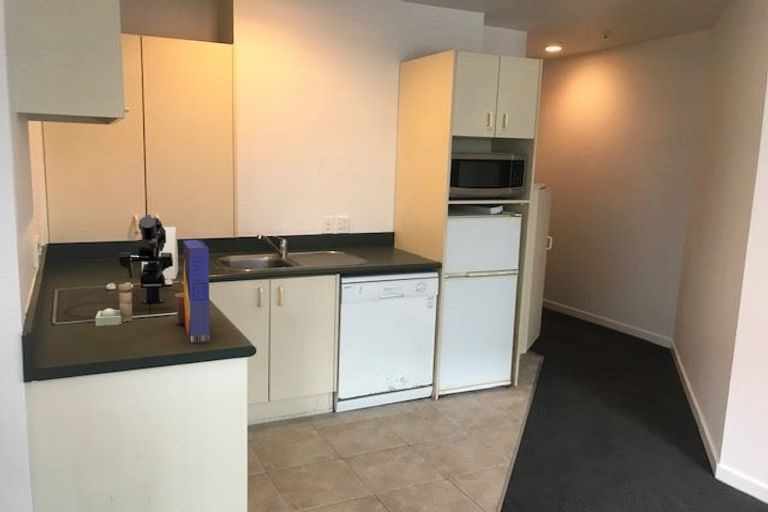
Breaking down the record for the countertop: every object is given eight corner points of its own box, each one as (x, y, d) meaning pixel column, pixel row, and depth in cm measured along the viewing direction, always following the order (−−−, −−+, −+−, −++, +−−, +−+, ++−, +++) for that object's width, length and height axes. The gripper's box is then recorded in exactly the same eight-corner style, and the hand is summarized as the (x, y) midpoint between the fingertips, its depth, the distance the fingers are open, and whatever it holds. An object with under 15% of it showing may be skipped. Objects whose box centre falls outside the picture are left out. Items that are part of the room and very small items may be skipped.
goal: (98, 318, 218) (98, 310, 217) (123, 317, 220) (122, 309, 220) (95, 326, 208) (95, 317, 207) (121, 324, 210) (120, 316, 210)
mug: (184, 327, 209) (183, 298, 207) (170, 323, 214) (169, 294, 213) (214, 321, 218) (214, 293, 216) (200, 317, 223) (199, 290, 222)
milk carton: (146, 273, 316) (145, 225, 313) (178, 272, 320) (177, 225, 317) (142, 279, 298) (140, 228, 295) (175, 279, 302) (174, 228, 299)
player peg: (119, 320, 217) (118, 284, 215) (131, 318, 219) (130, 283, 217) (120, 322, 213) (119, 286, 211) (133, 321, 215) (132, 285, 214)
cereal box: (184, 326, 210) (183, 240, 206) (202, 325, 212) (201, 239, 208) (189, 343, 190) (188, 247, 186) (209, 341, 192) (208, 247, 188)
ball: (117, 306, 216) (120, 318, 216) (105, 308, 216) (108, 320, 217) (110, 308, 211) (113, 321, 212) (97, 311, 212) (101, 323, 212)
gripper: (119, 231, 227) (112, 264, 217) (171, 231, 230) (167, 264, 221) (124, 249, 235) (118, 282, 226) (174, 249, 239) (171, 282, 230)
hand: (143, 277), depth 226 cm, fingers open, 9 cm apart
